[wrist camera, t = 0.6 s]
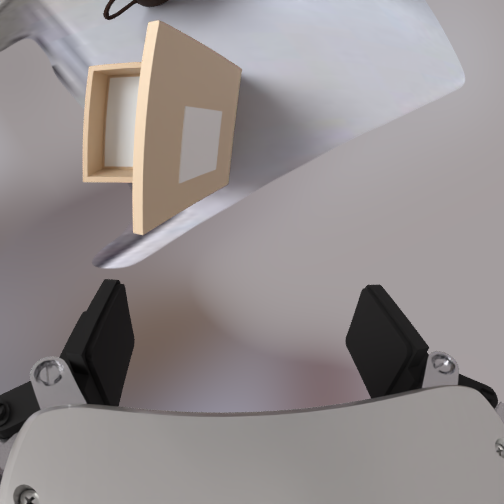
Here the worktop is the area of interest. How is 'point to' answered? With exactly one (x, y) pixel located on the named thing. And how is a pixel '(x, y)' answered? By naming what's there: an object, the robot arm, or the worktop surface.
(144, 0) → the coffee mug
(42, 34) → the worktop surface
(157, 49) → the lid
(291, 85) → the worktop surface
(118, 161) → the tan shallow rectangular box
